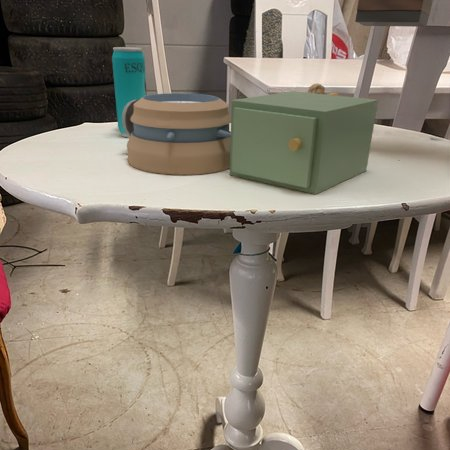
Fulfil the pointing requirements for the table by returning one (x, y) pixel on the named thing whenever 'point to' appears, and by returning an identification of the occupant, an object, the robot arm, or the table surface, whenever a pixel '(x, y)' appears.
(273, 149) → the cabinet
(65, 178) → the table surface
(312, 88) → the lion figurine
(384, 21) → the brush
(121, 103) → the beverage can
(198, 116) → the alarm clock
